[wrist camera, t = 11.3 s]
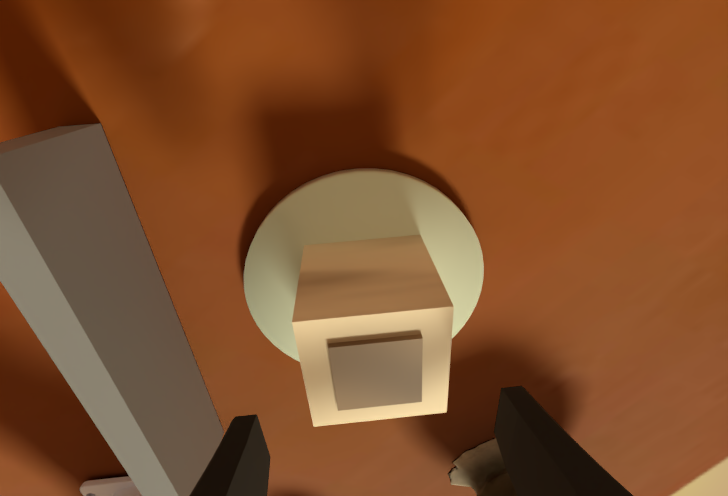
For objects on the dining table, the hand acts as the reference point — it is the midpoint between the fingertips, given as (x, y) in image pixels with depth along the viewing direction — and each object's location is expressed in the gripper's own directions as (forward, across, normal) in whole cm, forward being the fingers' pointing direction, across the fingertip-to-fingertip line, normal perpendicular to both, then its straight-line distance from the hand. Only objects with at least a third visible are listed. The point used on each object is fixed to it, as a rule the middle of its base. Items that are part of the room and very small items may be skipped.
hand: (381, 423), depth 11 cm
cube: (+7, 0, 0) cm, 7 cm away
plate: (+8, 0, 0) cm, 8 cm away
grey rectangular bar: (+8, +10, +1) cm, 13 cm away
